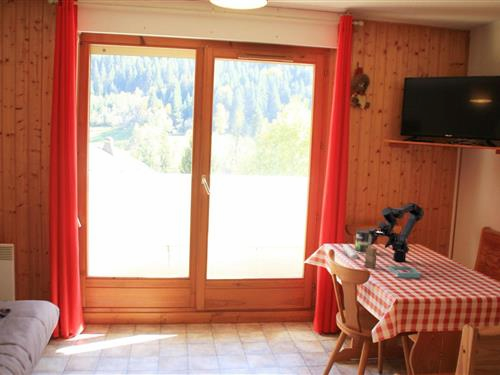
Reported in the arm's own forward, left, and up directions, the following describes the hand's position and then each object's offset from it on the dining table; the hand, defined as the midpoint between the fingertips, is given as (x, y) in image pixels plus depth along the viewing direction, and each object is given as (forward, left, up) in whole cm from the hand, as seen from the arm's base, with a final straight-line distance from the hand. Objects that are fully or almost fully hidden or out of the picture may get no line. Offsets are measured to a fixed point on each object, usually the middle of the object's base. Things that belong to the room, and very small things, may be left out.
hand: (378, 246), depth 298 cm
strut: (+6, +4, -11) cm, 13 cm away
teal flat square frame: (-10, +15, -13) cm, 22 cm away
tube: (+7, -26, -13) cm, 30 cm away
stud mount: (+6, +4, -13) cm, 15 cm away
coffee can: (-5, -38, -13) cm, 40 cm away
